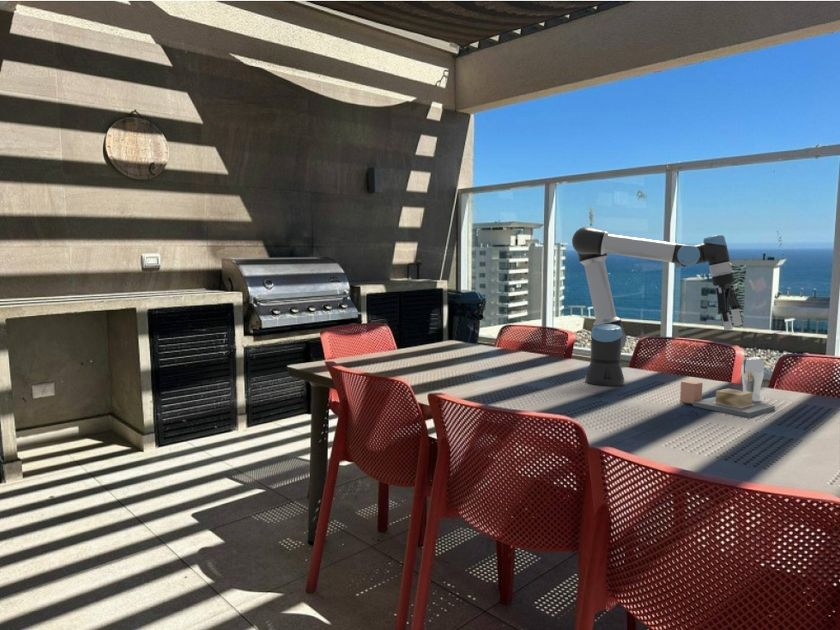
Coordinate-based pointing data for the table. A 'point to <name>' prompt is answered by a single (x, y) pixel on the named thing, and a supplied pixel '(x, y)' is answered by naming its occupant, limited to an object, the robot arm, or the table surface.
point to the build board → (740, 411)
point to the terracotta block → (691, 391)
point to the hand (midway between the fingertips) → (733, 327)
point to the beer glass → (752, 376)
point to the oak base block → (734, 397)
